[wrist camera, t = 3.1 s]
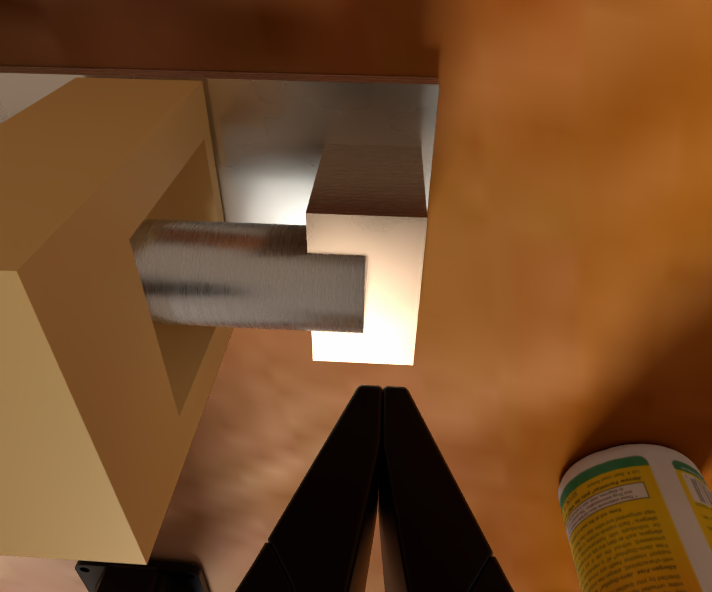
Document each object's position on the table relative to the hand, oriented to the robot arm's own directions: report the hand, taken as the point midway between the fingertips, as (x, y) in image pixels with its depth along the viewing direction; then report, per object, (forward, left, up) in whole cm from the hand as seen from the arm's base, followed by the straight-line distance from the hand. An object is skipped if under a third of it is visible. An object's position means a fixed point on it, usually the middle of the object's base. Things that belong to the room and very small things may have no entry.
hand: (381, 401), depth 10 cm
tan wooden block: (0, +6, -7) cm, 9 cm away
